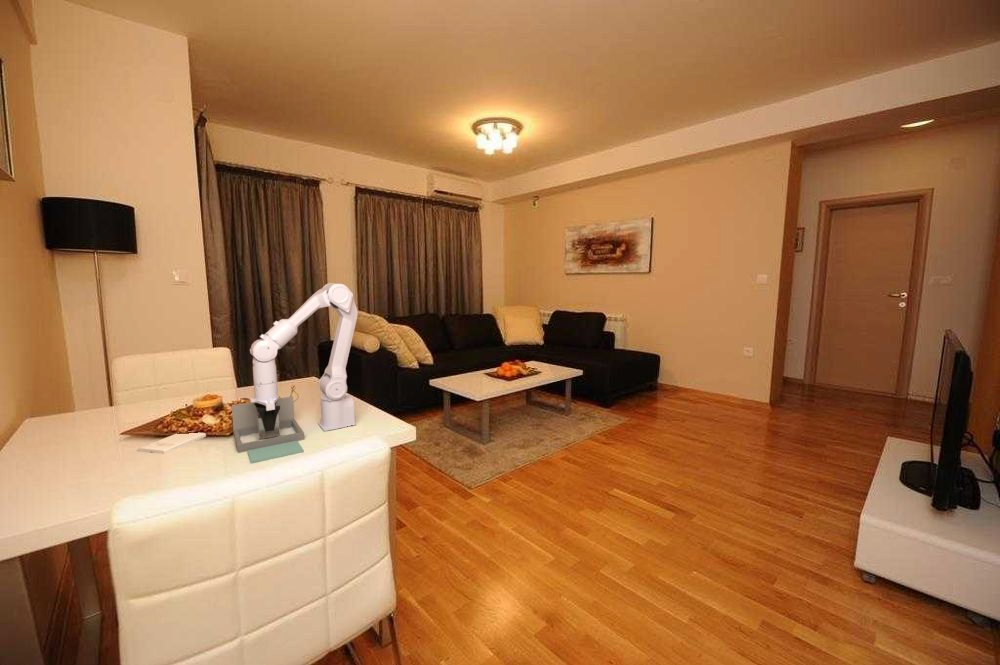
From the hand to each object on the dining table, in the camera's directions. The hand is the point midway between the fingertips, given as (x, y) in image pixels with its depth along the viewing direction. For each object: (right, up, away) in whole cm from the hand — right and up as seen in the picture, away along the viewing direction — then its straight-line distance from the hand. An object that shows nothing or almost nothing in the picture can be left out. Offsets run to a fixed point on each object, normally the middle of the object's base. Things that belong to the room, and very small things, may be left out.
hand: (268, 428), depth 118 cm
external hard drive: (-24, -4, -4) cm, 24 cm away
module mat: (+7, -4, -9) cm, 12 cm away
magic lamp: (-9, -1, +17) cm, 19 cm away
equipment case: (0, -3, 0) cm, 3 cm away
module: (0, -2, 0) cm, 2 cm away
